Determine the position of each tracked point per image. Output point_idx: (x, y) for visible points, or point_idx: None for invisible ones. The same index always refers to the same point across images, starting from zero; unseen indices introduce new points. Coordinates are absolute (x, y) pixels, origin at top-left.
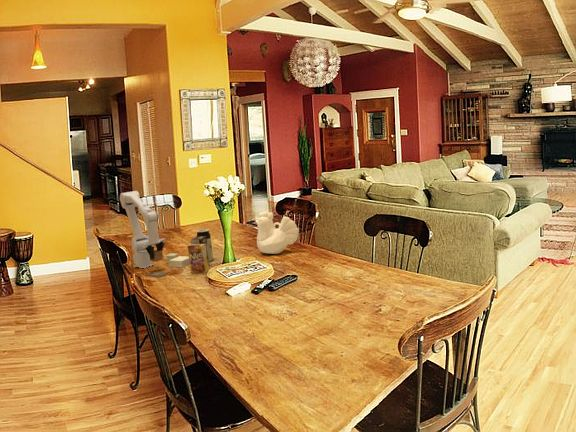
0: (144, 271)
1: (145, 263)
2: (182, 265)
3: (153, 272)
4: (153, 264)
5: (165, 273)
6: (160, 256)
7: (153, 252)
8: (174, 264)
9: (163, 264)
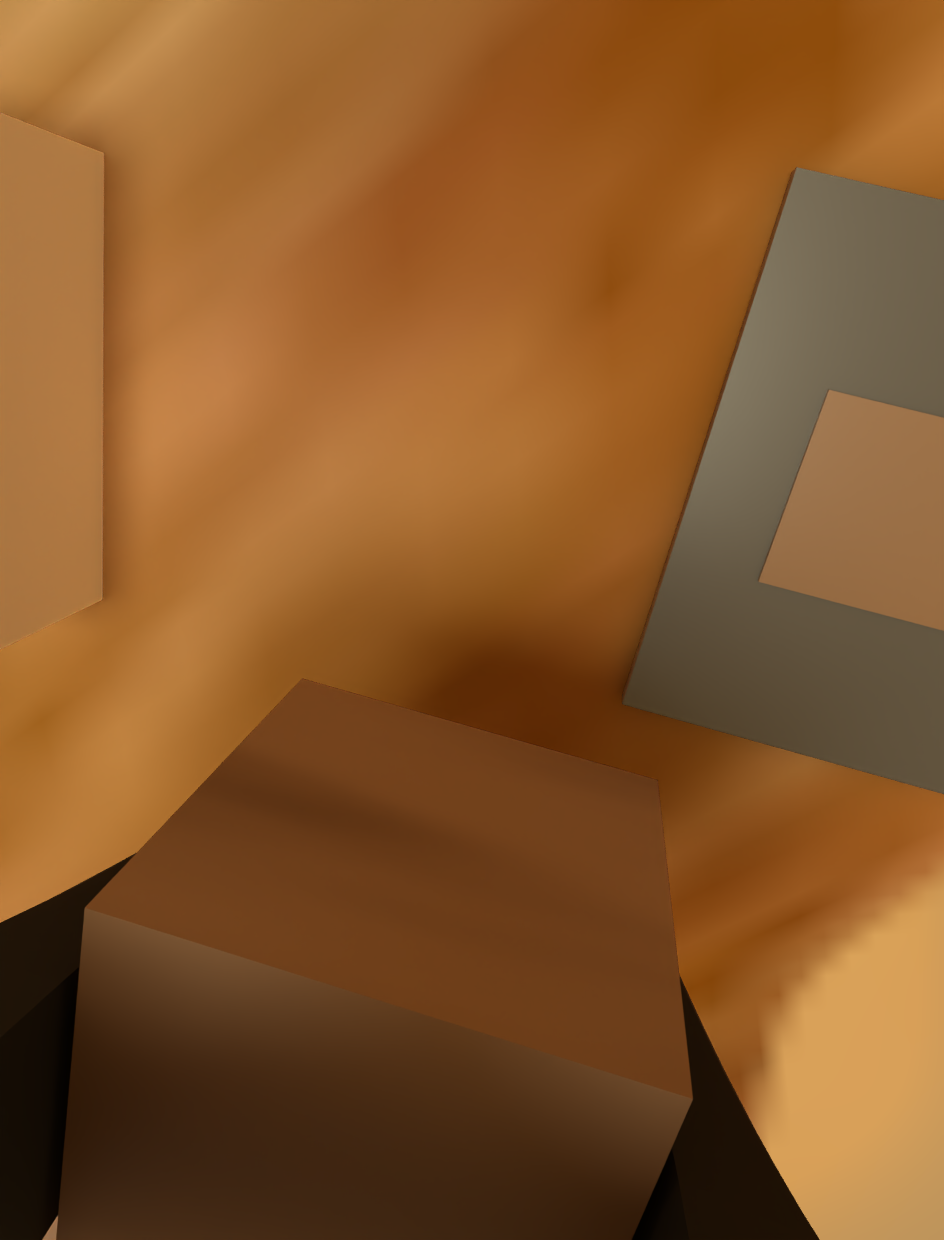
0: None
1: None
2: (51, 135)
3: (708, 721)
4: None
5: (824, 260)
6: (373, 783)
7: (707, 1209)
8: (62, 454)
9: (10, 856)
